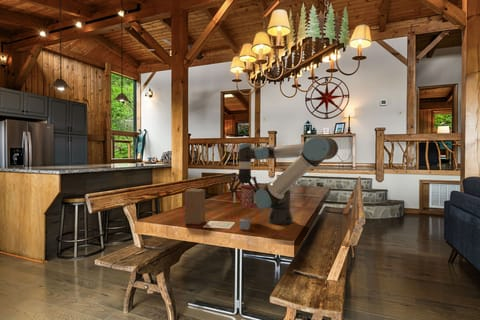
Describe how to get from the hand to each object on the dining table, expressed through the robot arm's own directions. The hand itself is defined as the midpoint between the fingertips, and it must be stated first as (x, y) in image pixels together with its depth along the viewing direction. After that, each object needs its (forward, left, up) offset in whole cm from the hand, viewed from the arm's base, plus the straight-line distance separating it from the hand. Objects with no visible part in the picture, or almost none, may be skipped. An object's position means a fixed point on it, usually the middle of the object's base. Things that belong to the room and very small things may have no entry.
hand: (244, 202), depth 173 cm
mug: (0, 0, -2) cm, 2 cm away
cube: (-3, +16, -11) cm, 20 cm away
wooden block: (+29, +10, -12) cm, 33 cm away
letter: (+13, +12, -11) cm, 21 cm away
